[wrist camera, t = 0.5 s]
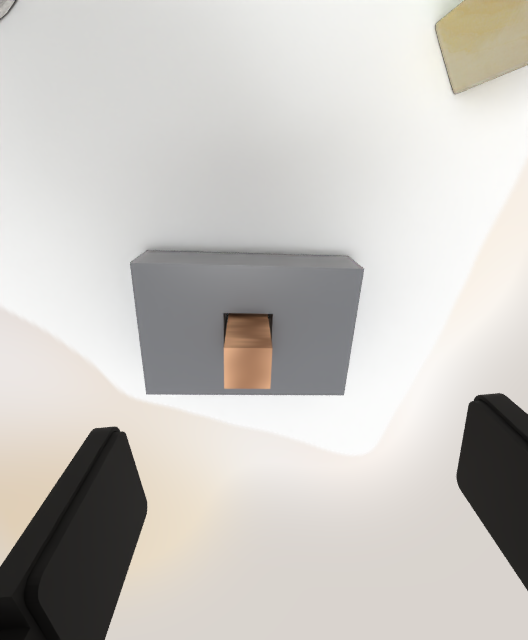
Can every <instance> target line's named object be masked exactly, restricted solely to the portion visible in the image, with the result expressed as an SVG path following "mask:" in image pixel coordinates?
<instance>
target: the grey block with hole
mask: <svg viewBox="0 0 528 640" xmlns="http://www.w3.org/2000/svg"><path fill="white" fill-rule="evenodd" d="M130 267H131V275H132V283H133V291H134V299H135V307H136V315H137V323H138V331H139V339H140V347H141V355H142V363H143V371H144V379H145V387H146V394H182V395H344V391H345V384H346V378H347V372H348V366H349V360H350V353H351V347H352V341H353V335H354V328H355V322H356V316H357V310H358V303H359V297H360V291H361V285H362V279H363V272H364V268H363V267H361V266H360V265H359V264H358V263H356V262H355V261H354V260H353V259H351V258H350V257H349V256H329V255H293V254H258V253H222V252H186V251H150V250H147V251H145V252H144V253H142V254H141V255H140V256H138V257H137V258H136V259H134V260H133V261H132V262H130ZM227 313H246V314H269V327H270V334H271V341H272V367H271V386H270V389H224V343H225V336H226V328H227Z"/></svg>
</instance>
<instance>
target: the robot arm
mask: <svg viewBox="0 0 528 640" xmlns="http://www.w3.org/2000/svg"><path fill="white" fill-rule="evenodd" d="M14 1H15V0H0V18H1V17H3V16H4V15H5V14H6V13H7V12H8V10H9V9H10V7H11V6H12V4H13V3H14ZM457 482H458V486H459V488H460V490H461V491H462V493H463V494H464V496H465V497H466V499H467V500H468V502H469V503H470V505H471V506H472V508H473V509H474V511H475V512H476V514H477V515H478V517H479V518H480V520H481V521H482V523H483V524H484V526H485V527H486V529H487V530H488V532H489V533H490V535H491V536H492V538H493V539H494V541H495V542H496V544H497V545H498V547H499V548H500V550H501V551H502V553H503V554H504V556H505V557H506V559H507V560H508V562H509V563H510V565H511V566H512V568H513V569H514V571H515V572H516V574H517V575H518V577H519V578H520V580H521V581H522V583H523V584H524V586H525V587H526V589H527V590H528V414H527V413H525V412H524V411H523V410H522V409H521V408H519V407H518V406H517V405H516V404H515V403H514V402H512V401H511V400H510V399H509V398H508V397H507V396H505V395H503V394H500V393H497V394H486V395H478V396H476V397H475V399H474V401H472V402H470V403H469V406H468V412H467V417H466V423H465V429H464V435H463V440H462V446H461V452H460V458H459V463H458V469H457ZM146 514H147V500H146V497H145V493H144V490H143V487H142V484H141V481H140V478H139V474H138V471H137V468H136V465H135V461H134V458H133V455H132V452H131V449H130V445H129V443H128V439H127V436H126V433H125V432H120V430H119V429H118V428H117V427H107V428H106V427H105V428H95V429H93V430H92V431H91V432H90V434H89V435H88V437H87V438H86V440H85V441H84V443H83V444H82V446H81V447H80V449H79V450H78V452H77V453H76V455H75V456H74V458H73V459H72V461H71V462H70V464H69V465H68V467H67V468H66V470H65V471H64V473H63V474H62V476H61V477H60V478H59V480H58V481H57V483H56V484H55V486H54V487H53V489H52V490H51V492H50V494H49V495H48V497H47V498H46V500H45V501H44V502H43V504H42V505H41V507H40V508H39V510H38V511H37V513H36V514H35V516H34V517H33V519H32V520H31V522H30V523H29V525H28V526H27V528H26V529H25V531H24V532H23V534H22V535H21V537H20V538H19V540H18V541H17V543H16V544H15V546H14V547H13V549H12V550H11V552H10V553H9V555H8V556H7V558H6V559H5V561H4V562H3V563H2V565H1V566H0V640H105V637H106V634H107V631H108V628H109V625H110V622H111V619H112V616H113V613H114V610H115V607H116V604H117V601H118V598H119V595H120V592H121V589H122V586H123V583H124V580H125V577H126V574H127V571H128V568H129V565H130V562H131V559H132V556H133V553H134V550H135V547H136V544H137V541H138V538H139V535H140V532H141V529H142V526H143V523H144V520H145V517H146Z"/></svg>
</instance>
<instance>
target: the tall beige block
mask: <svg viewBox="0 0 528 640" xmlns="http://www.w3.org/2000/svg"><path fill="white" fill-rule="evenodd" d="M436 32H437V36H438V40H439V44H440V47H441V51H442V54H443V58H444V61H445V65H446V68H447V72H448V75H449V79H450V82H451V85H452V88H453V91H454V93H455V94H457V93H460V92H462V91H465V90H467V89H470V88H472V87H475V86H477V85H479V84H482V83H484V82H487V81H489V80H492V79H494V78H497V77H499V76H502V75H504V74H506V73H509V72H511V71H514V70H516V69H519V68H521V67H524V66H526V65H528V0H464V1H463V2H462V3H460V4H459V5H458V6H457V7H456V8H454V9H453V10H452V11H451V12H449V13H448V14H447V15H446V16H444V17H443V18H442V19H441V20H440V21H439V22H437V24H436Z"/></svg>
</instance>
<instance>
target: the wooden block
mask: <svg viewBox="0 0 528 640" xmlns="http://www.w3.org/2000/svg"><path fill="white" fill-rule="evenodd" d="M271 367H272V341H271V334H270V327H269V320H268V314H246V313H229V314H228V321H227V328H226V336H225V343H224V389H270V386H271Z"/></svg>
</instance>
